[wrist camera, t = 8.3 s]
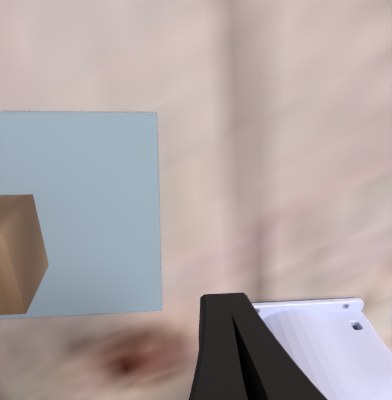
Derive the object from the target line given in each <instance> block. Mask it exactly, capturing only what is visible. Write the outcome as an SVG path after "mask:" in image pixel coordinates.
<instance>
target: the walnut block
mask: <svg viewBox="0 0 392 400" xmlns="http://www.w3.org/2000/svg"><path fill="white" fill-rule="evenodd" d="M48 266H49V263H48V259H47V254H46V250H45V245H44V241H43V237H42V232H41V228H40V223H39V219H38V215H37V210H36V206H35V201H34V197H33V194H27V195H0V315H13V314H26V313H27V311H28V309H29V306H30V304H31V302H32V300H33V298H34V296H35V294H36V292H37V289H38V287H39V285H40V283H41V281H42V279H43V277H44V274H45V272H46V270H47V268H48Z"/></svg>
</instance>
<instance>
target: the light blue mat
mask: <svg viewBox="0 0 392 400" xmlns="http://www.w3.org/2000/svg"><path fill="white" fill-rule="evenodd" d="M27 194H33V197H34V201H35V206H36V210H37V215H38V219H39V223H40V228H41V232H42V237H43V241H44V245H45V250H46V254H47V259H48V263H49V266H48V268H47V270H46V272H45V274H44V277H43V279H42V281H41V283H40V285H39V287H38V289H37V292H36V294H35V296H34V298H33V300H32V302H31V304H30V306H29V309H28V311H27V313H26V314H13V315H0V319H15V318H34V317H52V316H71V315H90V314H109V313H128V312H147V311H162V292H161V253H160V213H159V174H158V135H157V112H42V111H0V195H27Z"/></svg>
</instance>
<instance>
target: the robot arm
mask: <svg viewBox="0 0 392 400" xmlns="http://www.w3.org/2000/svg"><path fill="white" fill-rule="evenodd" d="M363 306H364V303H363V301H362V300H361V299H360V298H344V299H325V300H306V301H287V302H268V303H251V302H250V300H249V299H248V297H247V296H246V295H245V294H244V293H226V294H205V295H203V296H202V297H201V299H200V320H199V354H198V360H197V365H196V370H195V375H194V380H193V385H192V389H191V393H190V398H189V400H392V353H391V352H390V350H389V349H388V348H387V346H386V345H385V343H384V342H383V341H382V339H381V338H380V336H379V335H378V333H377V332H376V331H375V329H374V328H373V326H372V325H371V324H370V322H369V321H368V319H367V318H366V317H365V315H364V314H363V312H362V308H363ZM256 309H257V310H256Z"/></svg>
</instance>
